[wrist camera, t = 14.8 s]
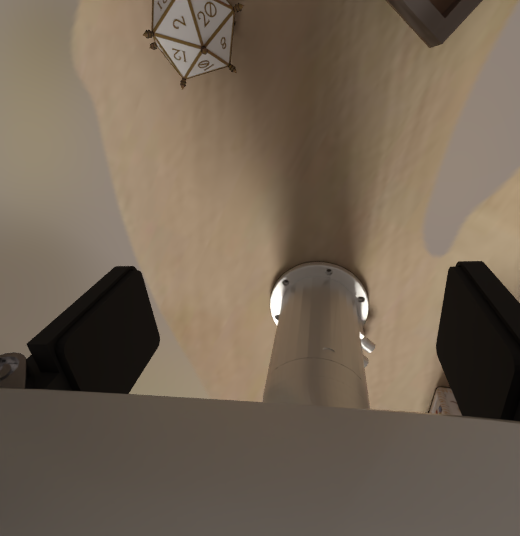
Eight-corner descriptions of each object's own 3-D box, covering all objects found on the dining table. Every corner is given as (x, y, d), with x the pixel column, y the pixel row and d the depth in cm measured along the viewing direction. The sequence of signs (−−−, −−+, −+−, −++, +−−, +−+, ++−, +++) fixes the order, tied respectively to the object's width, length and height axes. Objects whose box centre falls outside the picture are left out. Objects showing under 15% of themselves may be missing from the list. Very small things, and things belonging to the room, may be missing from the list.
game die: (212, 14, 36) (197, -99, 26) (262, 75, 35) (265, -19, 26) (141, 61, 35) (97, -38, 26) (190, 124, 35) (164, 47, 25)
